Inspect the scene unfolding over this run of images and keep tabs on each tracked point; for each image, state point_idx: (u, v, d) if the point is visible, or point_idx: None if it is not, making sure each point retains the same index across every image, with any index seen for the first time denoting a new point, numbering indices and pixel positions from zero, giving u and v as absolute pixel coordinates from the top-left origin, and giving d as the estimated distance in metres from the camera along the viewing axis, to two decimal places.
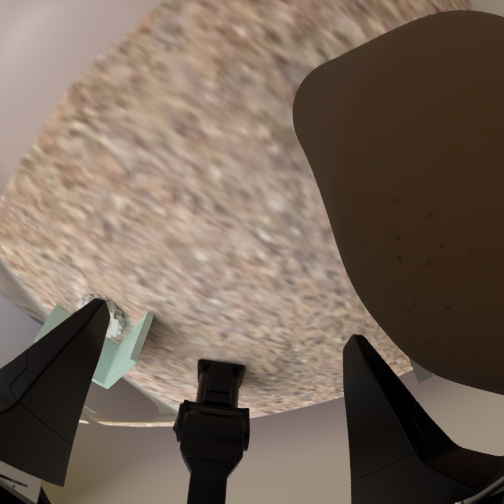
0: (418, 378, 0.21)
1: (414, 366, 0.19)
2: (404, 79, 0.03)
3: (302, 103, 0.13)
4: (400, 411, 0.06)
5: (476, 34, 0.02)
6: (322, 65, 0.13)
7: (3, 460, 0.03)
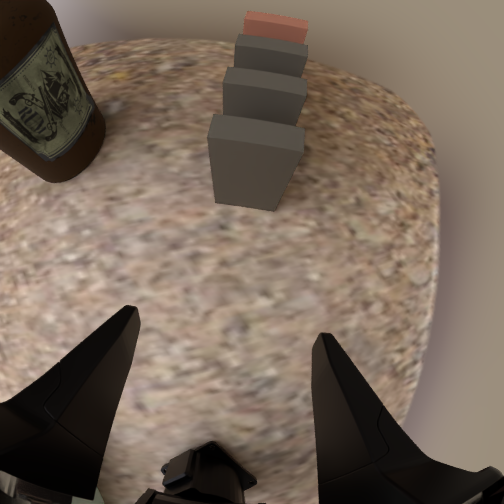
0: (279, 145, 0.13)
1: (218, 135, 0.13)
2: None
3: None
4: (363, 416, 0.06)
5: None
6: None
7: (39, 484, 0.03)
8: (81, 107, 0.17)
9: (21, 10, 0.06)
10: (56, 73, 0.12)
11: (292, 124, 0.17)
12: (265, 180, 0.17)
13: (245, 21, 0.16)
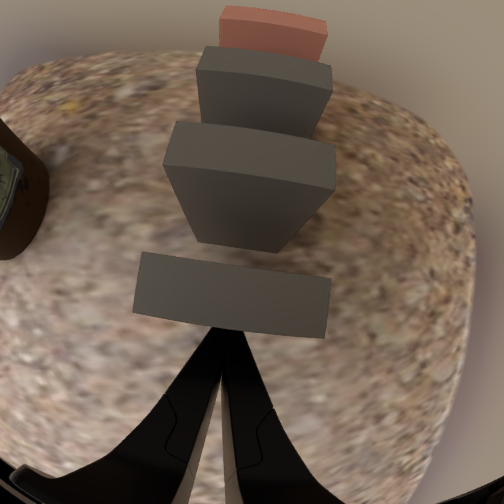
0: (278, 329, 0.07)
1: (153, 308, 0.07)
2: None
3: None
4: (242, 415, 0.06)
5: None
6: None
7: None
8: (1, 177, 0.11)
9: None
10: None
11: (301, 220, 0.11)
12: None
13: (221, 22, 0.09)
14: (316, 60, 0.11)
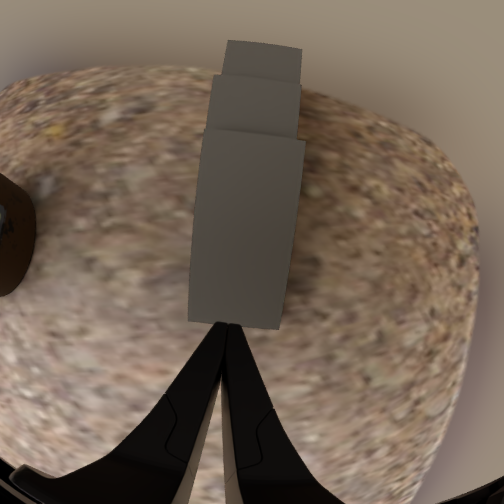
0: (280, 137, 0.13)
1: (215, 130, 0.13)
2: None
3: None
4: (242, 415, 0.06)
5: None
6: None
7: None
8: None
9: None
10: None
11: (293, 134, 0.14)
12: (267, 221, 0.13)
13: None
14: None
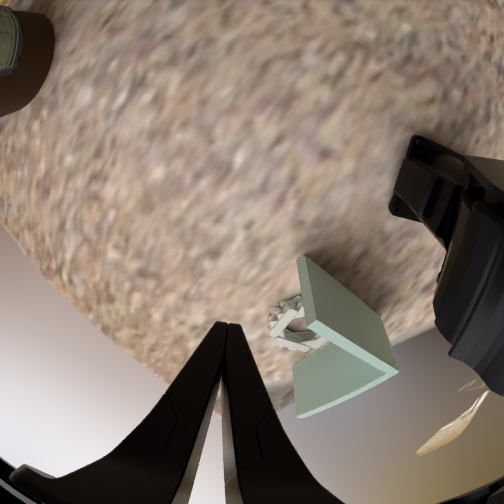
0: None
1: None
2: None
3: None
4: (241, 415, 0.06)
5: None
6: None
7: None
8: None
9: None
10: None
11: None
12: None
13: None
14: None
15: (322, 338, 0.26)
